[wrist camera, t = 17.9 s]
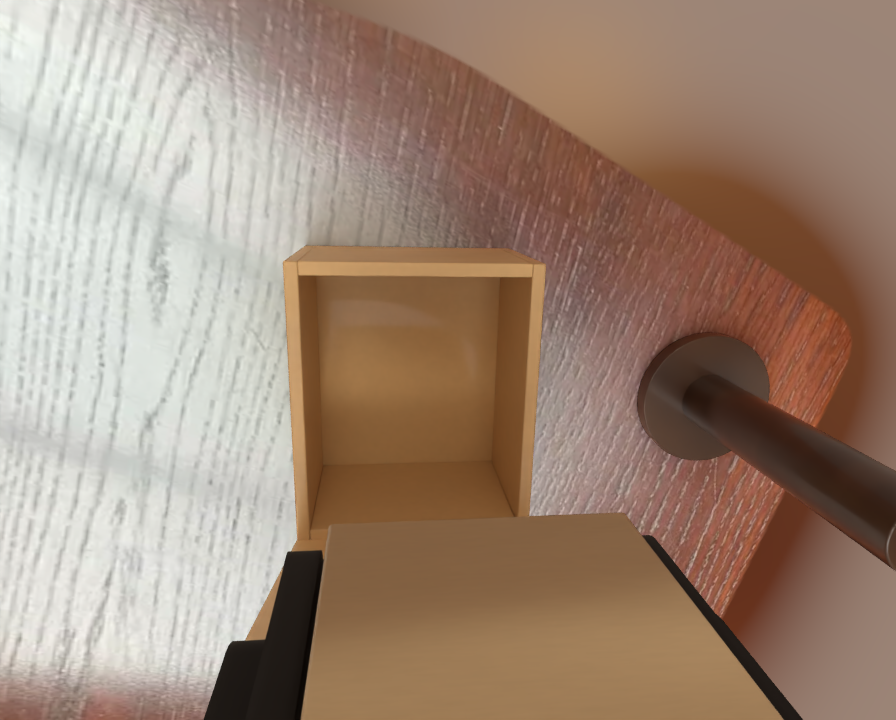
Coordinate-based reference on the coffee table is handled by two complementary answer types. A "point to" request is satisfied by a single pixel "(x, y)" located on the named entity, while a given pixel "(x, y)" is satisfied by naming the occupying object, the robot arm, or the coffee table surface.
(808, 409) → the coffee table surface
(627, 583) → the block
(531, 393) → the carton
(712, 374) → the stand
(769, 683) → the robot arm
